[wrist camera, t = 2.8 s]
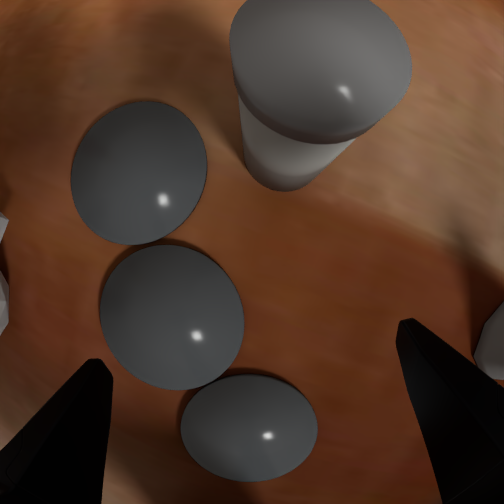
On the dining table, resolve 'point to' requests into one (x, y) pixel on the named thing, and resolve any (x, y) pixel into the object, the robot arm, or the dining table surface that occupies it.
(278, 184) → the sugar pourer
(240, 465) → the coaster
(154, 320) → the coaster mid
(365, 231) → the dining table surface
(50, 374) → the dining table surface
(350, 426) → the dining table surface
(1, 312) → the perfume bottle
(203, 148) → the coaster
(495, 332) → the flask
